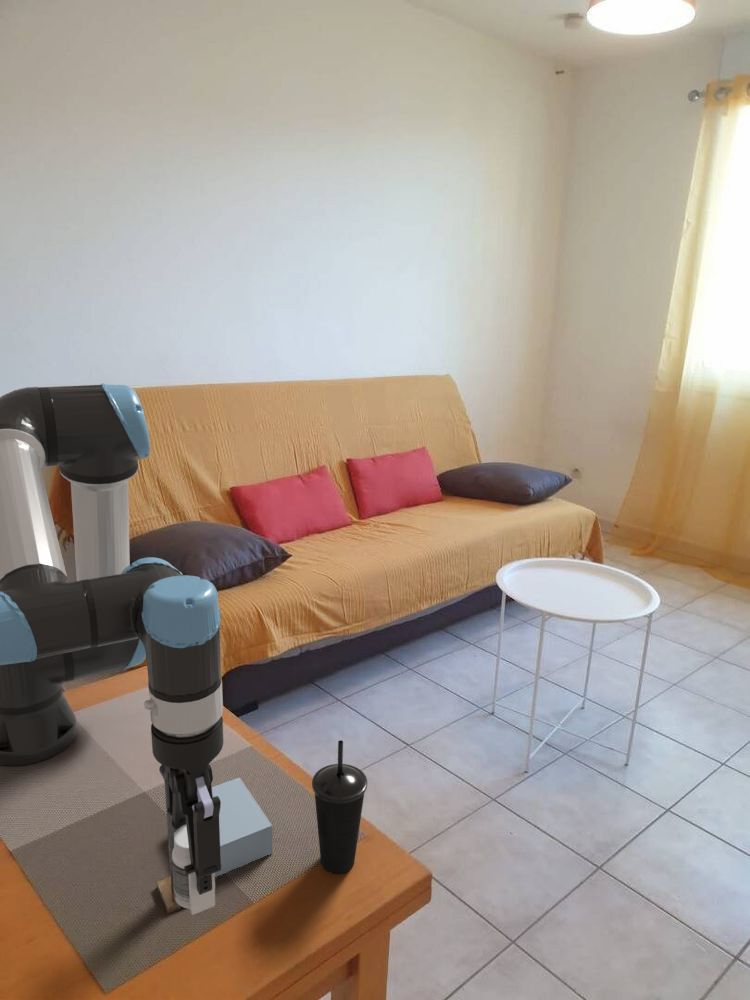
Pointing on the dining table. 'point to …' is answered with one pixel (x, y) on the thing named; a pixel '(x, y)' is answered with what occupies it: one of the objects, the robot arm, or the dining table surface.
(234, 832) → the light blue boxy piece
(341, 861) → the drinking cup
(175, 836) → the pill bottle
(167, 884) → the hook post
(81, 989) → the dining table surface
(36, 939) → the dining table surface
